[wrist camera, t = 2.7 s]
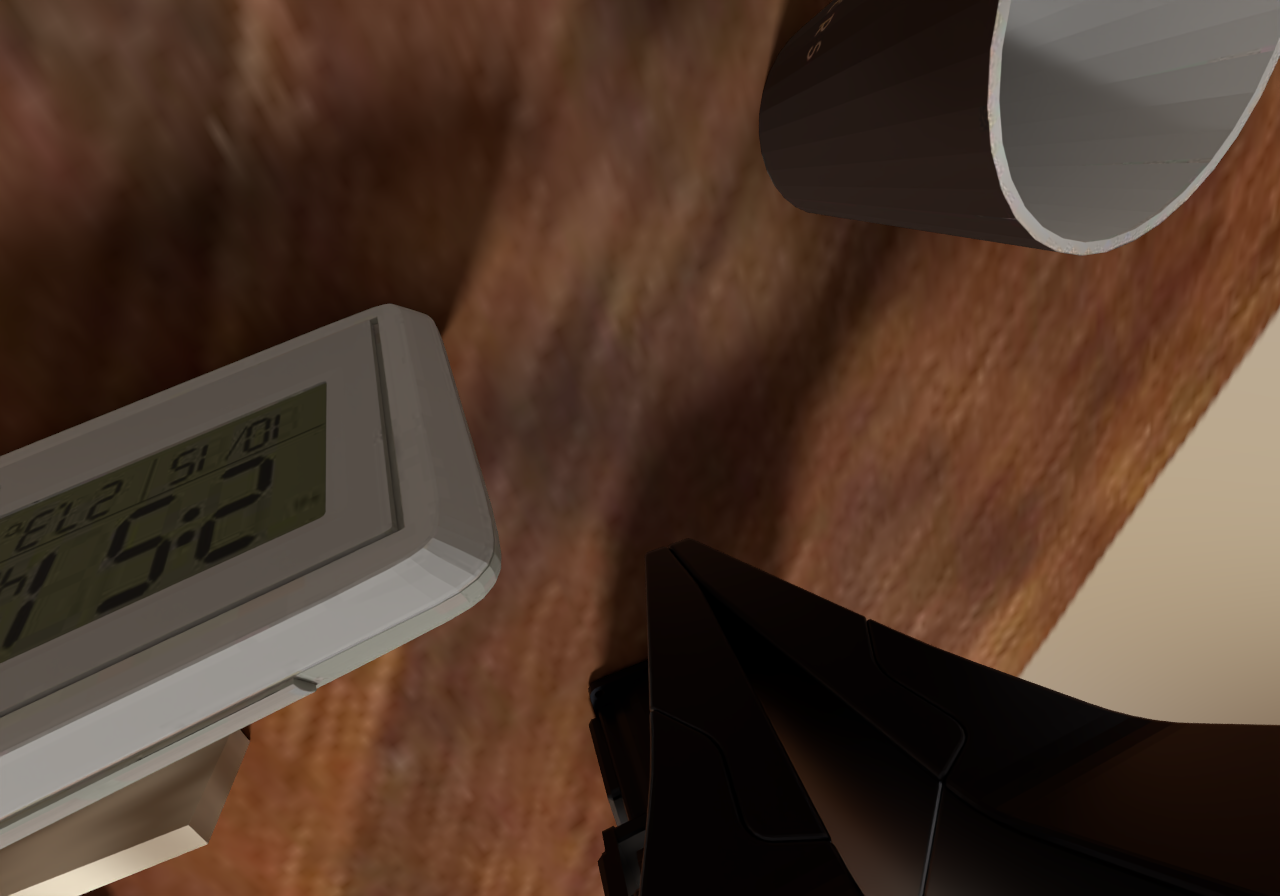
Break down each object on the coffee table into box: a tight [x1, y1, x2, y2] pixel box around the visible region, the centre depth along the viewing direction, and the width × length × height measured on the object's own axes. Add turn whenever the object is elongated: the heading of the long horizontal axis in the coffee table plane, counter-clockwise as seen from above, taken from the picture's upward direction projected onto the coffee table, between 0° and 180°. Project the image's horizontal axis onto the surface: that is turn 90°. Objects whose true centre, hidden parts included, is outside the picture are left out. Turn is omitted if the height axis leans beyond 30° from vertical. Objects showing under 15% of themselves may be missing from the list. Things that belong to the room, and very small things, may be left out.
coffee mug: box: [759, 0, 1280, 256], centre depth 15 cm, size 12×9×10 cm
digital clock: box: [0, 304, 501, 849], centre depth 12 cm, size 16×9×11 cm, turn 98°
